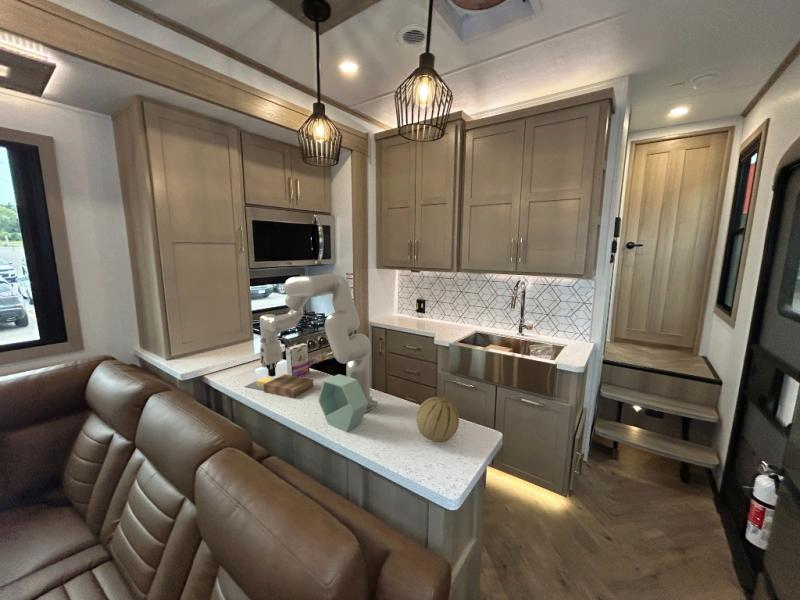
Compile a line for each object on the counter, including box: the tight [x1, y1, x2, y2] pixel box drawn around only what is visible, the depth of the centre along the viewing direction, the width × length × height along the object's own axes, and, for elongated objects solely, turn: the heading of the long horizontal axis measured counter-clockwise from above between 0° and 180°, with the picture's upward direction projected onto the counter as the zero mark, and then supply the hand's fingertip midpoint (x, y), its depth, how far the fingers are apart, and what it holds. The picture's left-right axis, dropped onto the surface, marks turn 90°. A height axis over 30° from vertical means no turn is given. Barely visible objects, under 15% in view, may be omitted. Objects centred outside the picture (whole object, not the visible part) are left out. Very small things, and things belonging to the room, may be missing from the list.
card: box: [255, 376, 276, 387], centre depth 163 cm, size 9×6×2 cm, turn 66°
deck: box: [263, 373, 314, 399], centre depth 158 cm, size 18×14×4 cm
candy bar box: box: [285, 343, 310, 377], centre depth 176 cm, size 11×5×16 cm, turn 143°
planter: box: [317, 373, 368, 433], centre depth 124 cm, size 17×8×21 cm
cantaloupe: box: [415, 396, 460, 443], centre depth 113 cm, size 15×15×15 cm
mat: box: [244, 376, 277, 392], centre depth 165 cm, size 14×14×1 cm
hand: (272, 375), depth 162 cm, fingers closed
